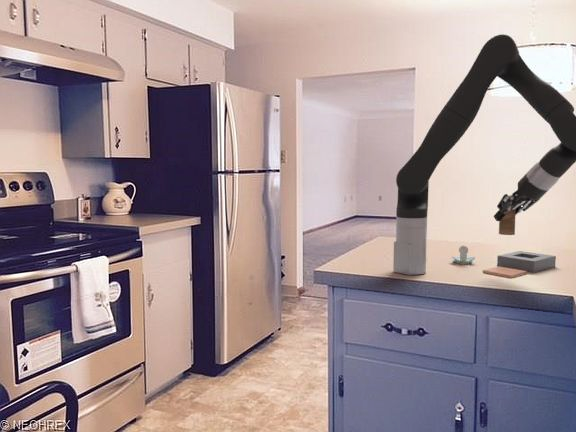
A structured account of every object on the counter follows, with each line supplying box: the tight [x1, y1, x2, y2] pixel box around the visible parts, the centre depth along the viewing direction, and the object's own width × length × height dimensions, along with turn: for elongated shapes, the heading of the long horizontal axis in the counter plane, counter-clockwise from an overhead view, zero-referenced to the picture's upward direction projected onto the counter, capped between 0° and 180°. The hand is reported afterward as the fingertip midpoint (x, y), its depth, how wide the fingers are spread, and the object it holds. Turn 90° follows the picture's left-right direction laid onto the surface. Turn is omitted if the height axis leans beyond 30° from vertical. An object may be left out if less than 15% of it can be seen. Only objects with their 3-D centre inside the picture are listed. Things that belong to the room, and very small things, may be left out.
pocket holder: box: [496, 250, 557, 273], centre depth 159 cm, size 14×12×4 cm
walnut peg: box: [498, 203, 516, 236], centre depth 148 cm, size 4×4×10 cm
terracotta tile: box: [482, 266, 528, 279], centre depth 150 cm, size 9×9×1 cm
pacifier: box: [451, 245, 476, 265], centre depth 166 cm, size 7×6×6 cm
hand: (501, 218), depth 150 cm, fingers closed on walnut peg, 4 cm apart
